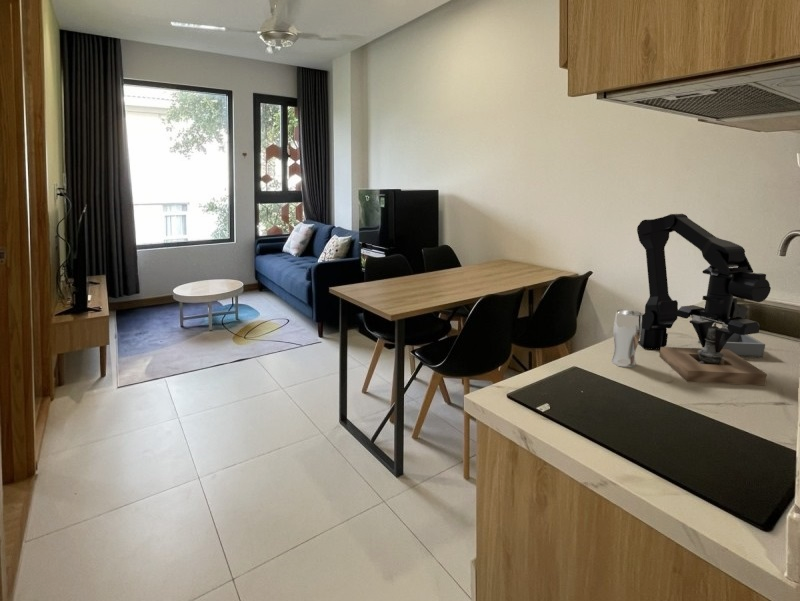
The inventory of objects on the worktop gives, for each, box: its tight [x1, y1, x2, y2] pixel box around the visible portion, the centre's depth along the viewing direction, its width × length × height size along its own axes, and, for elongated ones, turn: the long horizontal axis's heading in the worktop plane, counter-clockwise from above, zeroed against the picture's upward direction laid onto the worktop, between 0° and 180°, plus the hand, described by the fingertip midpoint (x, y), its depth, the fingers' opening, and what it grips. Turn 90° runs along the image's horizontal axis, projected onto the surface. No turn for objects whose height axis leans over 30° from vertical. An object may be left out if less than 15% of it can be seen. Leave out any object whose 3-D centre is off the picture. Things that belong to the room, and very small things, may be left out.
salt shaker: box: [698, 322, 724, 365], centre depth 122 cm, size 6×6×12 cm
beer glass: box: [611, 308, 643, 368], centre depth 127 cm, size 7×7×15 cm
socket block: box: [658, 346, 768, 386], centre depth 123 cm, size 18×18×3 cm
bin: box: [698, 333, 766, 358], centre depth 138 cm, size 12×12×4 cm
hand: (711, 349), depth 123 cm, fingers closed on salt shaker, 3 cm apart
